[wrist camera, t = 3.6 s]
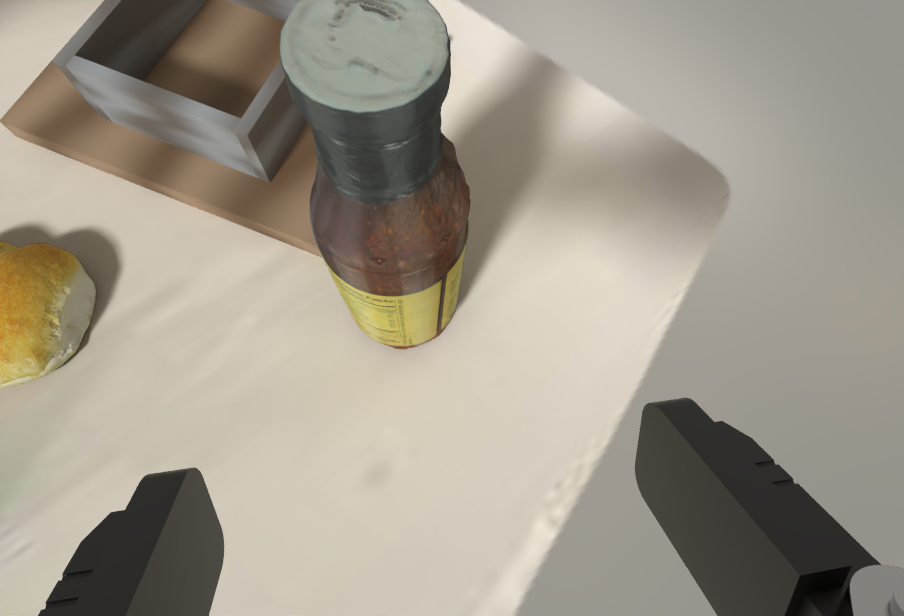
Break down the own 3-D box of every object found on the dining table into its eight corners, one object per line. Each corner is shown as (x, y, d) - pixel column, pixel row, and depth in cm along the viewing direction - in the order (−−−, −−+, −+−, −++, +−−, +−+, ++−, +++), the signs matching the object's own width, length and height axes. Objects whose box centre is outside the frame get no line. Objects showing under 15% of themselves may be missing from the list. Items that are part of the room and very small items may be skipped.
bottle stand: (17, 137, 32) (-67, 63, 27) (171, -46, 38) (128, -137, 33) (332, 261, 31) (314, 212, 26) (441, 53, 37) (446, -25, 31)
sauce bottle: (411, 238, 32) (405, -107, 13) (476, 311, 31) (571, 43, 12) (325, 299, 30) (180, 4, 12) (390, 379, 29) (346, 192, 10)
